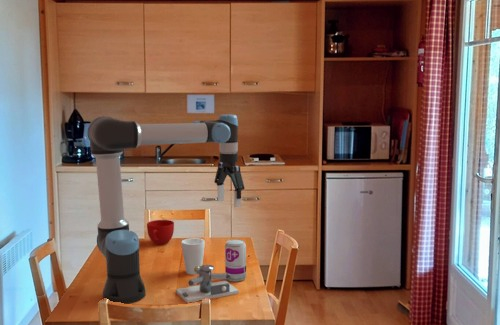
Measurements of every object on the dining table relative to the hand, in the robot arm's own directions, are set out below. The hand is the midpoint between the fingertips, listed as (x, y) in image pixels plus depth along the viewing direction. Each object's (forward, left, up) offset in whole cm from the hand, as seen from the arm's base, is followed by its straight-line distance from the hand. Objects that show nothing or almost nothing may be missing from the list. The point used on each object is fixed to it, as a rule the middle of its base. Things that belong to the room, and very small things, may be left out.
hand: (229, 203), depth 234 cm
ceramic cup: (-16, +46, -27) cm, 56 cm away
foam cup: (-16, +1, -27) cm, 32 cm away
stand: (-20, -23, -27) cm, 41 cm away
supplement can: (-4, -14, -27) cm, 31 cm away
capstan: (-21, -22, -26) cm, 40 cm away
